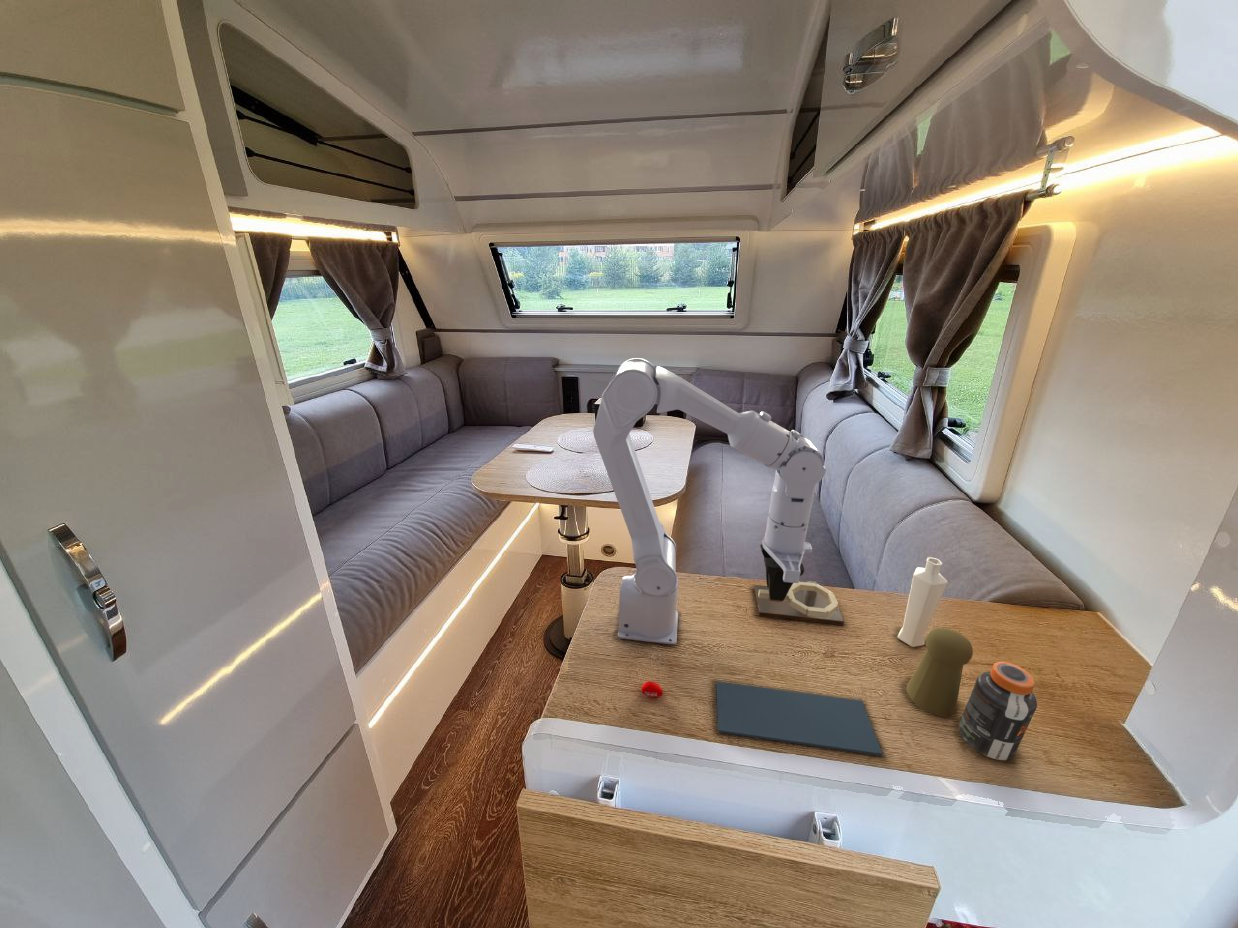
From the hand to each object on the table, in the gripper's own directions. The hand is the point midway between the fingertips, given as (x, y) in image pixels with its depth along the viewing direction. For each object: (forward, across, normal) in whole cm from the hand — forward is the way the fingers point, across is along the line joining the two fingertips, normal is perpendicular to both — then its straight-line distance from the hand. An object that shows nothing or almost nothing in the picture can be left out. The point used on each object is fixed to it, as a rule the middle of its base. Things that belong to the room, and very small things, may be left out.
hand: (775, 593), depth 75 cm
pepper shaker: (+8, -9, -21) cm, 24 cm away
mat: (+8, -16, -1) cm, 18 cm away
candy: (+9, -15, +18) cm, 25 cm away
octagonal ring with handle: (+1, 0, -3) cm, 3 cm away
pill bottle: (+8, -15, -25) cm, 30 cm away
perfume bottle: (+8, +3, -23) cm, 25 cm away
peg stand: (+8, +9, -6) cm, 14 cm away
